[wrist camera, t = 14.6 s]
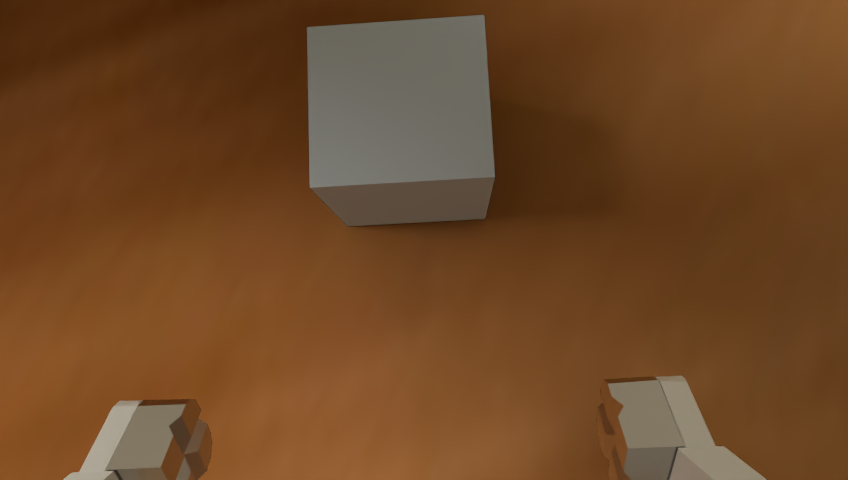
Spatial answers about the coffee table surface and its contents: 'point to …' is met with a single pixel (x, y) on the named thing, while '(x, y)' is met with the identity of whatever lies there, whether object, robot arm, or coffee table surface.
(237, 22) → the coffee table surface
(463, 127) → the slate cover
